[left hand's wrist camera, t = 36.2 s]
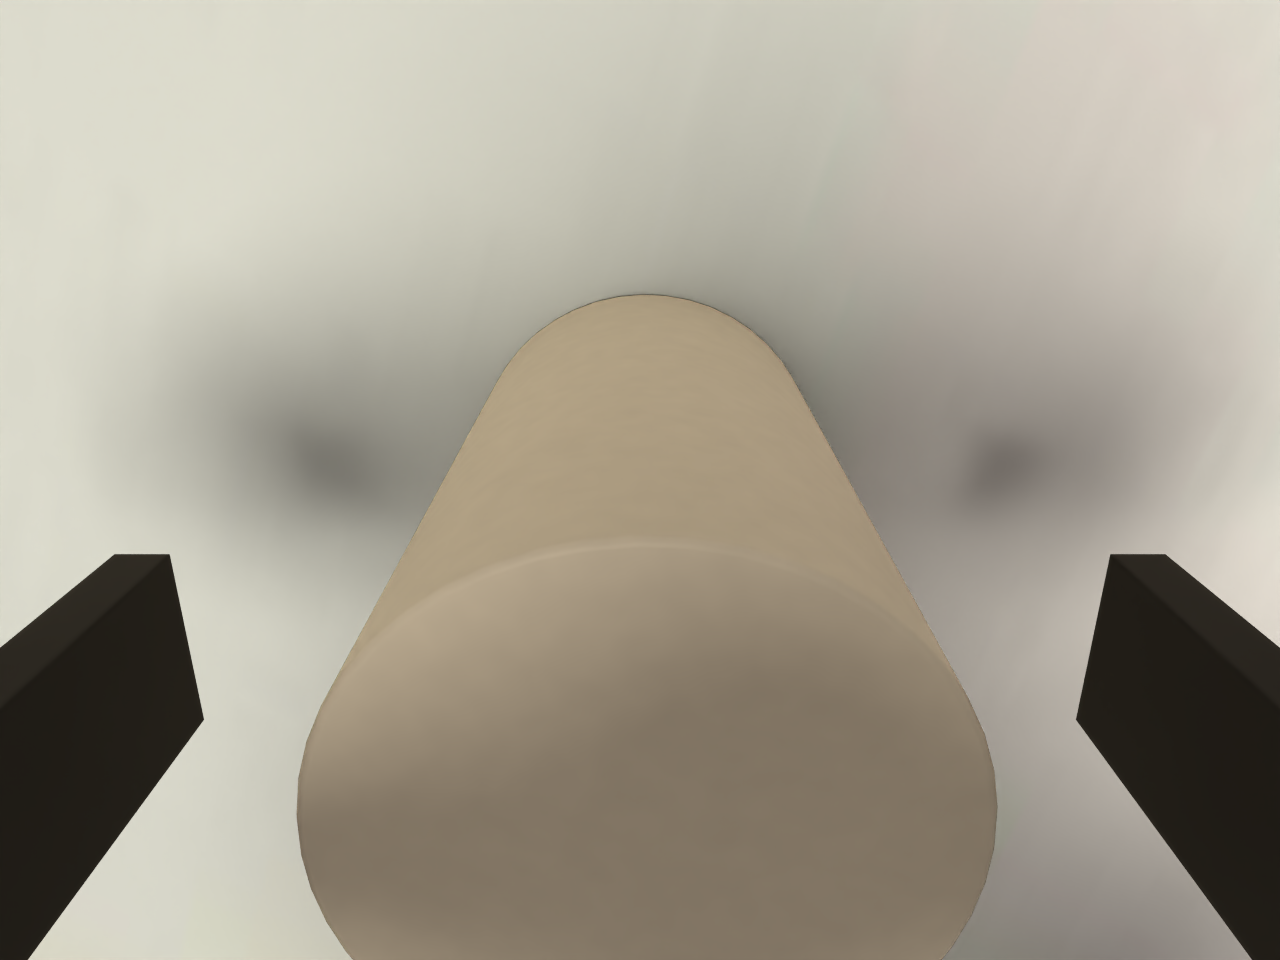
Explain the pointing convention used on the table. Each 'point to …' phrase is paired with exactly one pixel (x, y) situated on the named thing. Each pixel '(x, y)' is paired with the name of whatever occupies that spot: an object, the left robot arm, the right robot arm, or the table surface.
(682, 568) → the can
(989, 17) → the table surface
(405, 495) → the table surface
